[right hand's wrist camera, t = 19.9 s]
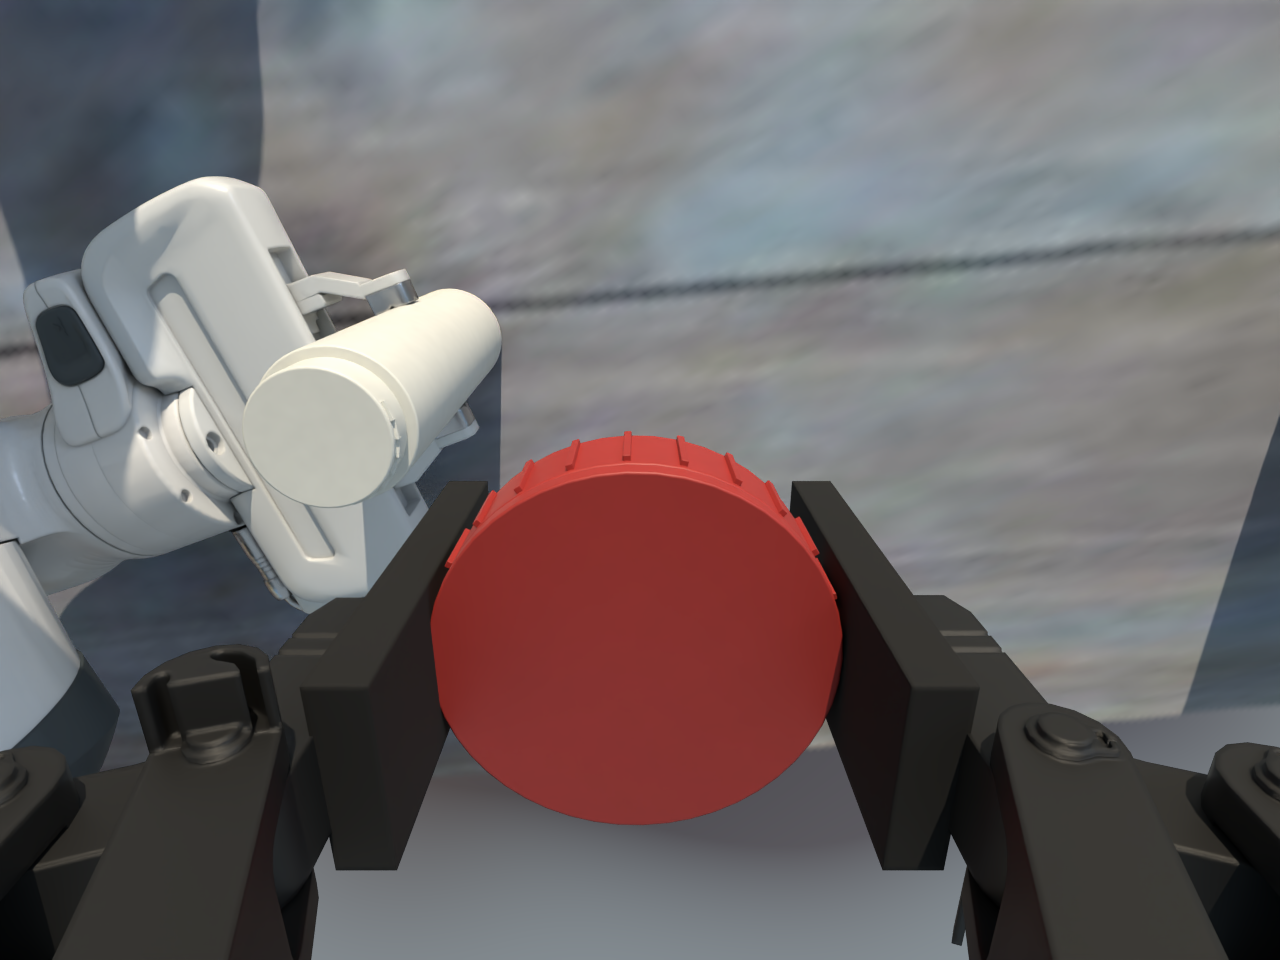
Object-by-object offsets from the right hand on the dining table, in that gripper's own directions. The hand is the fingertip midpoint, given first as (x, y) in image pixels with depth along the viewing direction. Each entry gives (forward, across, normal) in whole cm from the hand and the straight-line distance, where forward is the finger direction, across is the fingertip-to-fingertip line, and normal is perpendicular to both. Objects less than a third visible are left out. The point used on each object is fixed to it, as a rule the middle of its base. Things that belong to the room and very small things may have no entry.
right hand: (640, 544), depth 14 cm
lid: (-4, 0, 0) cm, 4 cm away
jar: (+27, +10, 0) cm, 29 cm away
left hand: (+20, +9, 0) cm, 22 cm away
